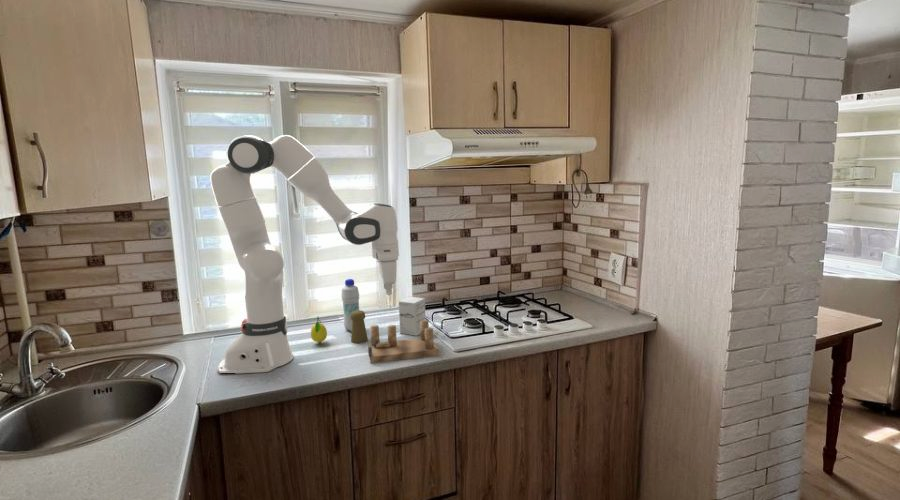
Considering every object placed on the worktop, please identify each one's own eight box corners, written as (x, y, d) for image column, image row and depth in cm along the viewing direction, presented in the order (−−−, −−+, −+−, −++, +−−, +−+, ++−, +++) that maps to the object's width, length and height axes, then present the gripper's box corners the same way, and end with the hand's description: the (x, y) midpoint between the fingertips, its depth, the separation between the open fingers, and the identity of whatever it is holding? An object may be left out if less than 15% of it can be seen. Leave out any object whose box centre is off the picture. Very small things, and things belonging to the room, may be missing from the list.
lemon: (320, 338, 173) (318, 312, 172) (332, 341, 170) (330, 314, 169) (306, 344, 168) (304, 317, 166) (318, 347, 165) (316, 319, 163)
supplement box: (399, 333, 176) (397, 300, 174) (410, 327, 182) (408, 295, 180) (416, 336, 172) (414, 302, 170) (426, 330, 179) (425, 297, 177)
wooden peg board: (369, 363, 149) (367, 337, 148) (367, 349, 161) (365, 325, 160) (438, 354, 154) (437, 329, 153) (431, 342, 166) (430, 319, 164)
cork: (364, 343, 167) (362, 313, 165) (348, 343, 168) (346, 313, 166) (370, 338, 172) (368, 308, 171) (354, 337, 174) (352, 308, 172)
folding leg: (374, 348, 155) (373, 329, 154) (374, 345, 158) (372, 327, 157) (397, 346, 157) (396, 327, 156) (396, 343, 160) (395, 324, 159)
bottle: (363, 326, 185) (360, 277, 182) (358, 332, 179) (355, 281, 175) (347, 326, 186) (343, 277, 183) (341, 332, 179) (337, 281, 176)
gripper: (373, 247, 169) (376, 285, 171) (378, 257, 149) (381, 299, 151) (391, 246, 170) (393, 283, 172) (398, 255, 150) (400, 297, 153)
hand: (387, 291), depth 162 cm, fingers open, 6 cm apart
